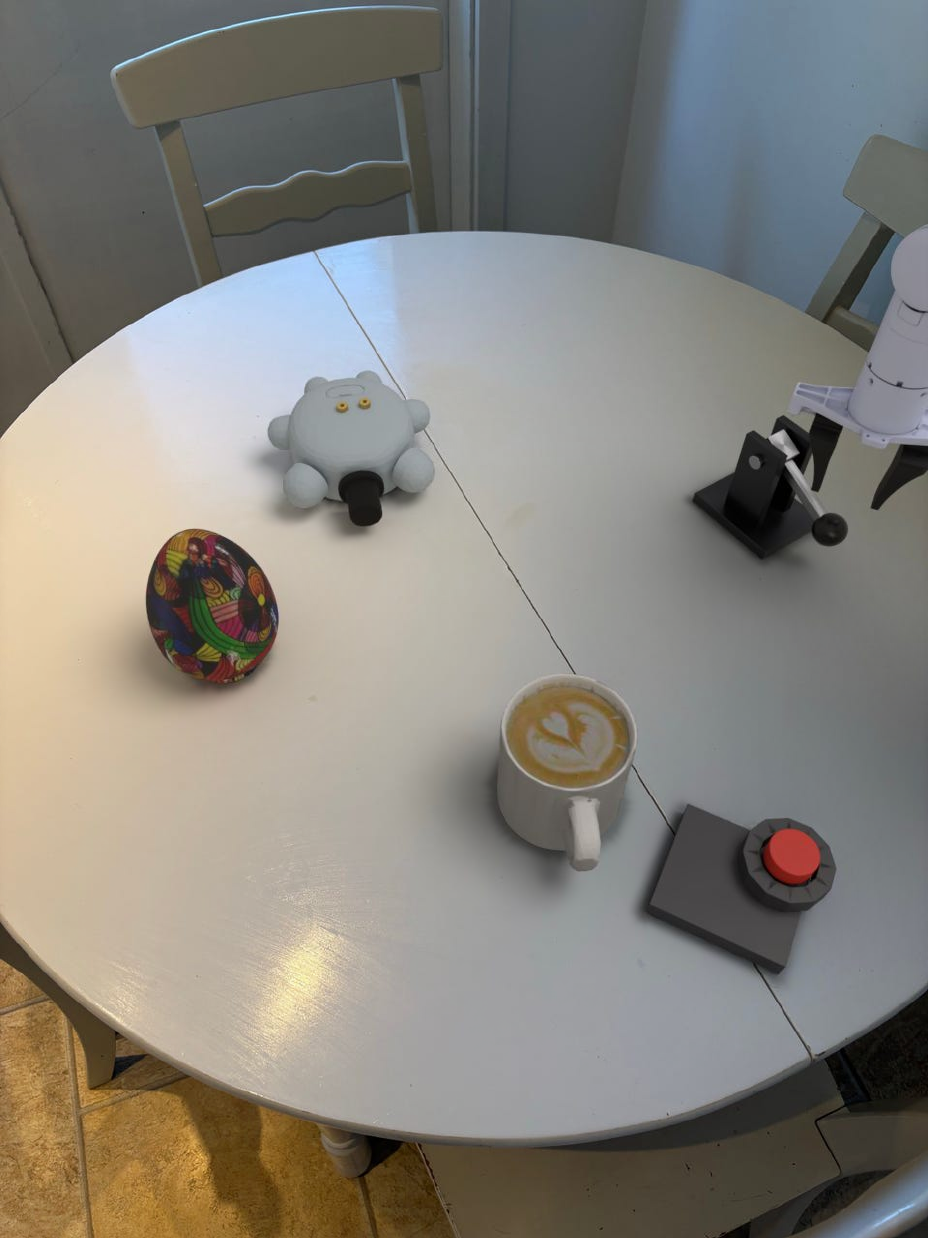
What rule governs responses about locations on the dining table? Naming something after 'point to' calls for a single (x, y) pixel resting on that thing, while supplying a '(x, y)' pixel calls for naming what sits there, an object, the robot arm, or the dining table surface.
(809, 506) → the lever
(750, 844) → the button block
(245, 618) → the egg
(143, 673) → the dining table surface
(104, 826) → the dining table surface
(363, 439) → the figurine
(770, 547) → the bracket
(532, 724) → the coffee mug
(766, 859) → the button
